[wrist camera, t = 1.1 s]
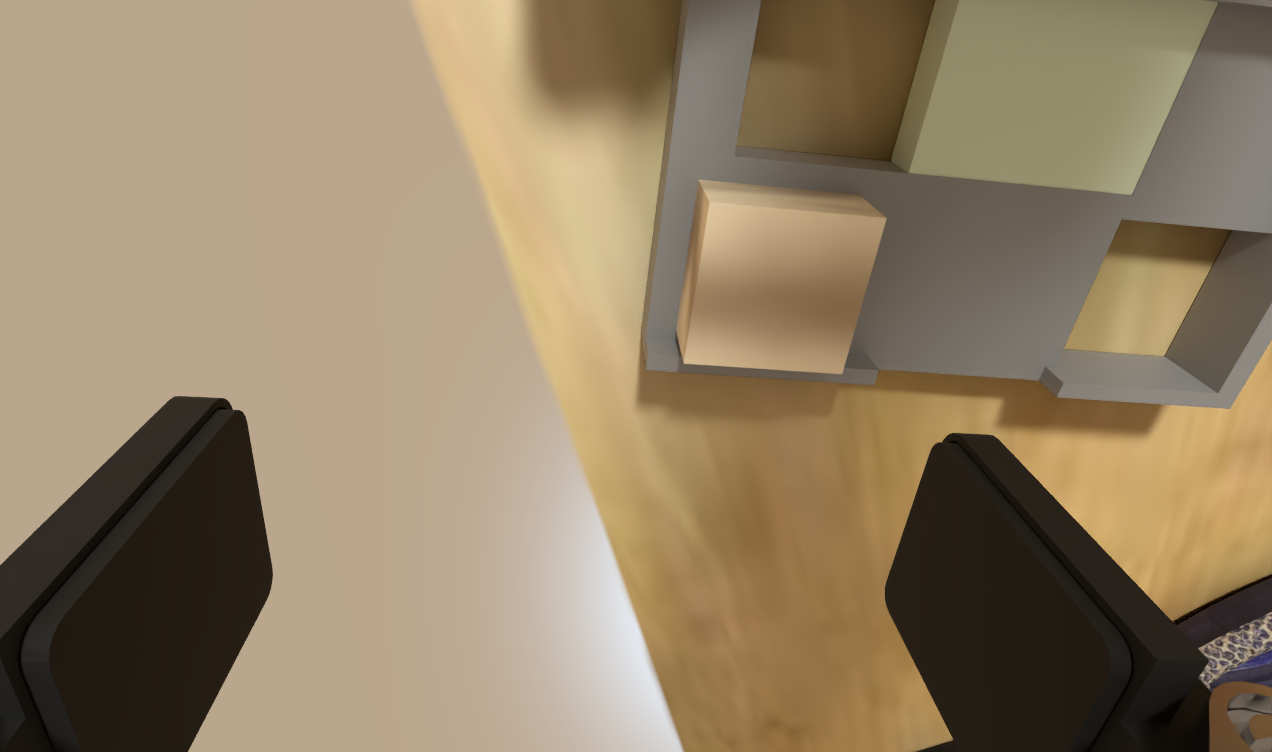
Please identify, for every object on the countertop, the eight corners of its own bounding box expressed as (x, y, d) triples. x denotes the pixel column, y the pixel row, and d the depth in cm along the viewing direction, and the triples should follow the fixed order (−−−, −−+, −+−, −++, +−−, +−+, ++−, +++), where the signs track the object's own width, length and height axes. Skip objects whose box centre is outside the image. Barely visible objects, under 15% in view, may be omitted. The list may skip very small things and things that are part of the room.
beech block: (698, 179, 28) (709, 201, 25) (859, 194, 29) (886, 218, 26) (675, 329, 31) (683, 363, 29) (821, 340, 32) (842, 374, 29)
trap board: (693, -89, 25) (707, -96, 22) (1378, 2, 28) (1473, 7, 25) (640, 333, 33) (646, 370, 30) (1176, 371, 36) (1229, 408, 33)
